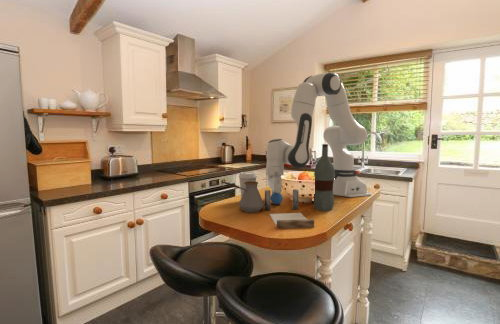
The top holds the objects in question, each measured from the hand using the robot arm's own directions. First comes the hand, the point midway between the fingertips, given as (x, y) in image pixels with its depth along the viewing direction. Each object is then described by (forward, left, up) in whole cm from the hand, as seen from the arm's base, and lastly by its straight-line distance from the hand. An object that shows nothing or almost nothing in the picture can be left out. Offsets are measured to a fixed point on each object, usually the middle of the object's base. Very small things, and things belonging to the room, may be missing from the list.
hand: (274, 198), depth 144 cm
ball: (0, +4, +1) cm, 4 cm away
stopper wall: (-1, +38, -2) cm, 38 cm away
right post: (-7, +14, -2) cm, 16 cm away
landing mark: (-1, +28, -2) cm, 28 cm away
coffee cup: (+13, -2, -2) cm, 14 cm away
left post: (+6, +14, -2) cm, 15 cm away
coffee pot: (+17, +16, -2) cm, 23 cm away
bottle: (-21, +14, -2) cm, 25 cm away
